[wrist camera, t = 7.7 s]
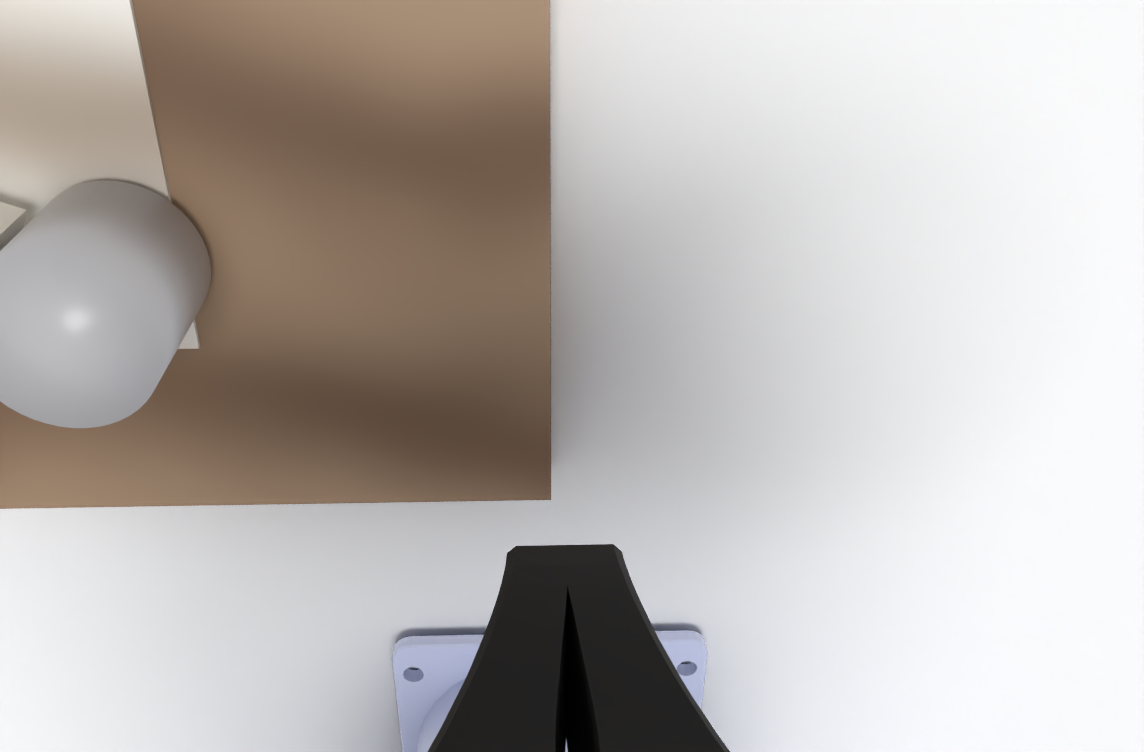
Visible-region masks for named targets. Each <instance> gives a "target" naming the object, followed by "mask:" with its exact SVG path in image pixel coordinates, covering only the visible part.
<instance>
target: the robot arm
mask: <svg viewBox="0 0 1144 752" xmlns="http://www.w3.org/2000/svg"><path fill="white" fill-rule="evenodd" d="M686 661H690V662H691V663H689V664H680V663H682V662H686ZM706 661H707V648H706V643H705V638H704V637H703V636H702V635H701V634H699V633H697V632H695V631H689V630H682V631H655V630H654V628H653V627H652V625H651V623H650V621H649V618H648V616H647V614H646V612H645V610H644V608H643V606H642V604H641V602H640V600H639V597H638V595H637V593H636V590H635V588H634V586H633V583H632V581H631V578H630V576H629V573H628V570H627V568H626V565H625V562H624V559H623V555H622V552H621V551H620V550H619V549H618V548H617V547H616V546H615V545H613V544H607V545H550V546H516V547H514V548H513V549H512V550H511V551H509V552H508V553H507V558H506V566H505V571H504V575H503V580H502V584H501V587H500V591H499V594H498V597H497V601H496V604H495V607H494V609H493V612H492V615H491V618H490V621H489V624H488V626H487V629H486V631H485V634H484V635H441V636H410V637H404V638H402V639H400V640H398V641H397V643H396V644H395V645H394V651H393V658H392V662H393V671H394V680H395V689H396V699H397V708H398V717H399V726H400V735H401V744H402V752H730V751H729V750H728V749H727V747H726V746H725V744H724V743H723V742H722V740H721V739H720V737H719V736H718V734H717V733H716V732H715V730H714V729H713V727H712V726H711V724H710V723H709V721H708V720H707V718H706V717H705V715H704V714H703V712H702V710H701V709H702V700H703V690H704V680H705V671H706ZM411 667H415V668H419V669H420V670H410V669H408V668H411Z"/></svg>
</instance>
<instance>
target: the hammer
mask: <svg viewBox="0 0 1144 752" xmlns="http://www.w3.org/2000/svg"><path fill="white" fill-rule="evenodd" d="M25 215H26V210H25V209H22V208H19V207H16V206H13V205H9V204H6V203H3V202H0V402H2V403H3V404H5V405H6V406H8V407H9V408H11V409H13V410H15V411H16V412H18V413H20V414H22V415H24V416H27V417H29V418H31V419H34V420H37V421H40V422H43V423H46V424H50V425H55V426H60V427H68V428H93V427H100V426H105V425H109V424H112V423H115V422H118V421H120V420H122V419H124V418H126V417H128V416H130V415H131V414H133V413H134V412H136V411H137V410H139V409H140V408H141V407H142V406H143V405H144V404H145V403H146V402H147V400H148V399H149V398H150V396H151V395H152V393H153V392H154V390H155V388H156V386H157V385H158V383H159V381H160V379H161V377H162V376H163V374H164V372H165V370H166V369H167V367H168V365H169V363H170V362H171V360H172V358H173V356H174V355H175V353H176V351H177V349H178V347H179V346H180V344H181V342H182V340H183V339H184V337H185V335H186V333H187V332H188V330H189V328H190V326H191V324H192V323H193V321H194V319H195V317H196V316H197V314H198V312H199V310H200V309H201V307H202V305H203V303H204V301H205V299H206V297H207V294H208V291H209V288H210V281H211V266H210V259H209V255H208V252H207V248H206V246H205V244H204V242H203V239H202V237H201V236H200V234H199V232H198V231H197V229H196V228H195V226H194V225H193V224H192V222H191V221H190V220H189V219H188V218H187V217H186V216H185V215H184V214H183V213H182V211H180V210H179V209H178V208H177V207H176V206H174V205H173V204H172V203H171V202H169V201H168V200H166V199H165V198H163V197H162V196H160V195H158V194H156V193H154V192H152V191H150V190H148V189H145V188H143V187H140V186H137V185H133V184H130V183H126V182H119V181H104V180H102V181H91V182H86V183H82V184H79V185H76V186H73V187H71V188H69V189H67V190H65V191H63V192H62V193H60V194H59V195H57V196H56V197H55V198H54V199H52V200H51V201H50V202H49V203H48V204H47V205H46V206H45V207H44V208H43V209H42V210H41V211H40V212H39V213H38V214H37V215H36V216H35V217H34V218H33V219H32V220H31V221H30V222H29V223H28V224H27V225H26V226H25V227H24V222H25Z"/></svg>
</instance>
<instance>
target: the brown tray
mask: <svg viewBox="0 0 1144 752" xmlns="http://www.w3.org/2000/svg"><path fill="white" fill-rule="evenodd" d="M102 180H104V181H119V182H126V183H130V184H133V185H137V186H140V187H143V188H145V189H148V190H150V191H152V192H154V193H156V194H158V195H160V196H162V197H163V198H165V199H166V200H168V201H169V202H171V203H172V204H173V205H174V206H176V207H177V208H178V209H179V210H180V211H182V213H183V214H184V215H185V216H186V217H187V218H188V219H189V220H190V221H191V222H192V224H193V225H194V226H195V228H196V229H197V231H198V232H199V234H200V236H201V237H202V239H203V242H204V244H205V246H206V248H207V252H208V255H209V259H210V266H211V281H210V288H209V291H208V294H207V297H206V299H205V301H204V303H203V305H202V307H201V309H200V310H199V312H198V314H197V316H196V317H195V319H194V321H193V323H192V324H191V326H190V328H189V330H188V332H187V333H186V335H185V337H184V339H183V340H182V342H181V344H180V346H179V347H178V349H177V351H176V353H175V355H174V356H173V358H172V360H171V362H170V363H169V365H168V367H167V369H166V370H165V372H164V374H163V376H162V377H161V379H160V381H159V383H158V385H157V386H156V388H155V390H154V392H153V393H152V395H151V396H150V398H149V399H148V400H147V402H146V403H145V404H144V405H143V406H142V407H141V408H140V409H139V410H137V411H136V412H134V413H133V414H131V415H130V416H128V417H126V418H124V419H122V420H120V421H118V422H115V423H112V424H109V425H105V426H100V427H93V428H68V427H60V426H55V425H50V424H46V423H43V422H40V421H37V420H34V419H31V418H29V417H27V416H24V415H22V414H20V413H18V412H16V411H15V410H13V409H11V408H9V407H8V406H6V405H5V404H3V403H2V402H0V509H7V508H68V507H130V506H192V505H254V504H316V503H378V502H440V501H502V500H551V264H550V0H0V202H3V203H6V204H9V205H13V206H16V207H19V208H22V209H25V210H26V215H25V222H24V227H25V226H26V225H27V224H28V223H29V222H30V221H31V220H32V219H33V218H34V217H35V216H36V215H37V214H38V213H39V212H40V211H41V210H42V209H43V208H44V207H45V206H46V205H47V204H48V203H49V202H50V201H51V200H52V199H54V198H55V197H56V196H57V195H59V194H60V193H62V192H63V191H65V190H67V189H69V188H71V187H73V186H76V185H79V184H82V183H86V182H91V181H102Z"/></svg>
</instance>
